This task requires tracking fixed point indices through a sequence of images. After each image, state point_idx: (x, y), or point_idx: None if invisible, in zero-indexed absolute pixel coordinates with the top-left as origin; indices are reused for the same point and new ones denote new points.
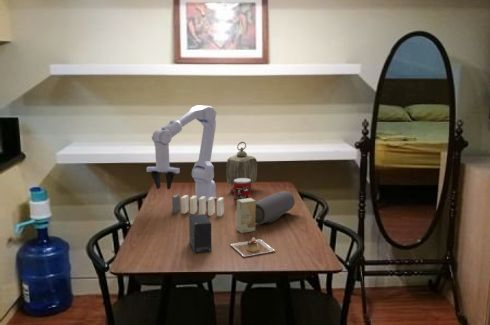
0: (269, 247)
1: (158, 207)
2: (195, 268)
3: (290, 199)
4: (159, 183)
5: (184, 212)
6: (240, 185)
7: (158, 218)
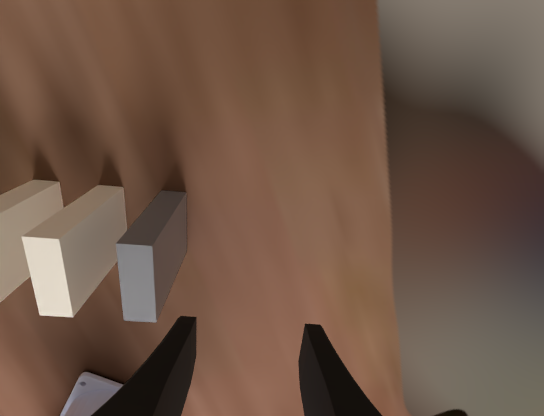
0: None
1: (314, 276)
2: None
3: None
4: (307, 400)
5: (97, 187)
6: None
7: (238, 53)
